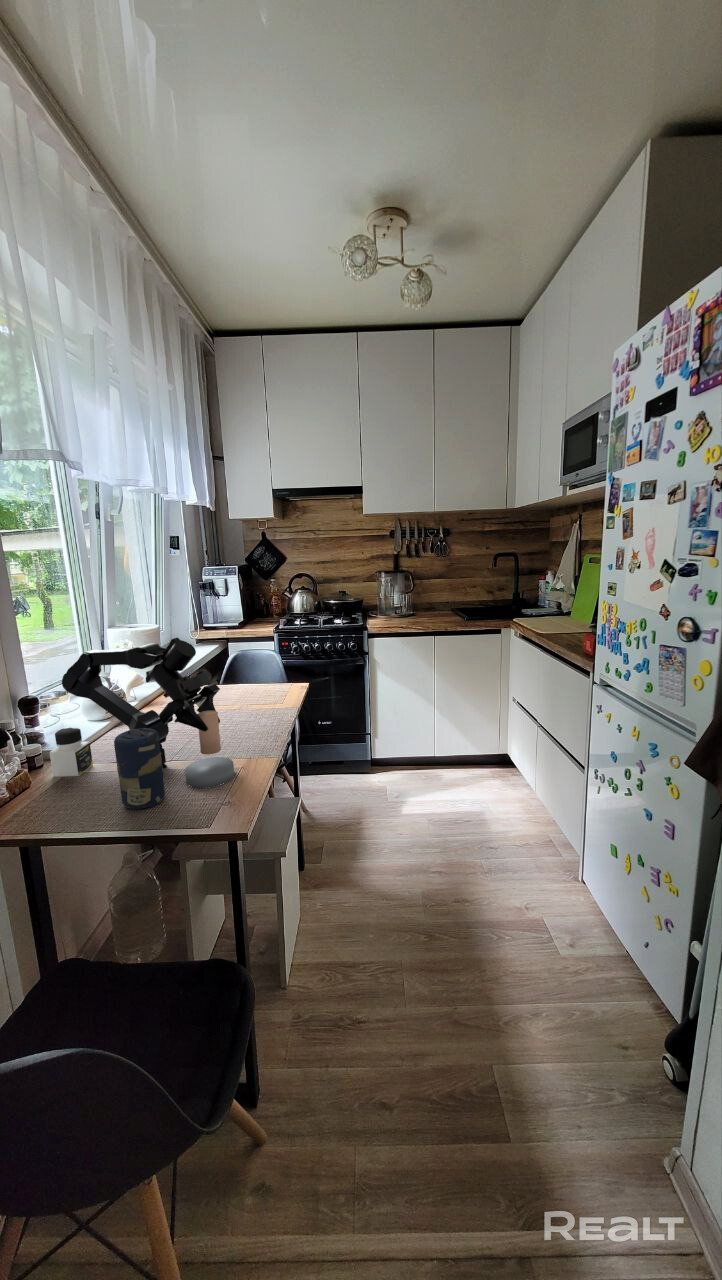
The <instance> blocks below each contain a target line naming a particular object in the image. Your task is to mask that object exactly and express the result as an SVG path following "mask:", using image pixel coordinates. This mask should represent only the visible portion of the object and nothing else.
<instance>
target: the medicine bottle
mask: <svg viewBox="0 0 722 1280" xmlns="http://www.w3.org/2000/svg"><path fill="white" fill-rule="evenodd" d="M54 738H55V745H56V747H55V748H54V749H53V750H50V751H49V757H50V763H51V764H50V765H51V769H52V771H51V772H52V776H53V777H55V778H56V777H57V778H59V777H60V778H61V777H80V776H81V775H82V774H83V773H85V772H86V771H87V770H89V769H90V768H91V767H92V766H93V765H94V763H93V757H92V748H91V744H90V741H83V738H82V732H81V728H79V727H77V726H68V727H64V728H60V729H58V730H57V731H56V732H55V733H54Z"/></svg>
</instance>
